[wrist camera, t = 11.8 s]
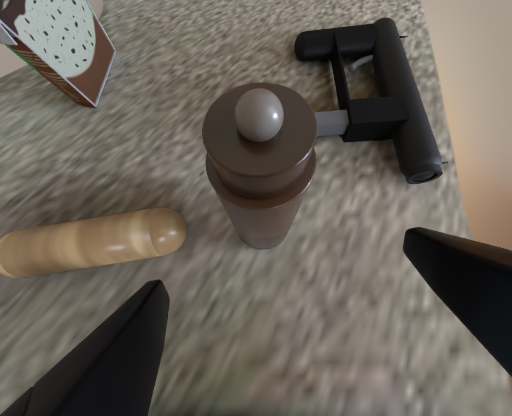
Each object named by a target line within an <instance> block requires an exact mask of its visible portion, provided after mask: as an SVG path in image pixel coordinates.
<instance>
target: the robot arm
mask: <svg viewBox="0 0 512 416" xmlns="http://www.w3.org/2000/svg"><path fill="white" fill-rule="evenodd" d="M403 251H404V253H405V255H406V256H407V257H408V259H409V260H410V261H411V263H412V264H413V265H414V267H415V268H416V269H417V271H418V272H419V273H420V275H421V276H422V277H423V278H424V280H425V281H426V282H427V284H428V285H429V286H430V287H431V289H432V290H433V291H434V292H435V293H436V295H437V296H438V297H439V298H440V299H441V300H442V301H443V302H444V303H445V304H446V306H447V307H448V308H449V309H450V310H451V311H452V312H453V313H454V314H455V315H456V317H457V318H458V319H459V320H460V321H461V322H462V323H463V324H464V325H465V326H466V327H467V329H468V330H469V331H470V332H471V333H472V334H473V335H474V336H475V337H476V338H477V339H478V341H479V342H480V343H481V344H482V345H483V346H484V347H485V348H486V349H487V350H488V352H489V353H490V354H491V355H492V356H493V357H494V358H495V359H496V360H497V361H498V362H499V364H500V365H501V366H502V367H503V368H504V369H505V370H506V371H507V372H508V373H509V374H510V376H511V377H512V250H508V249H504V248H501V247H497V246H492V245H489V244H485V243H481V242H477V241H473V240H469V239H465V238H461V237H457V236H453V235H449V234H445V233H441V232H437V231H433V230H429V229H425V228H421V227H416V228H411V229H408V230H407V231H406V232H405V238H404V244H403ZM169 303H170V299H169V295H168V293H167V291H166V288H165V286H164V284H163V282H162V281H161V280H159V279H158V280H153V281H149V282H147V283H146V284H145V285H144V286H142V287H141V288H140V289H139V290H138V291H137V292H136V293H135V294H134V295H133V296H131V297H130V298H129V299H128V300H127V301H126V302H125V303H124V304H123V305H121V306H120V307H119V308H118V309H117V310H116V311H115V312H114V313H113V314H112V315H110V316H109V317H108V318H107V319H106V320H105V321H104V322H103V323H102V324H100V325H99V326H98V327H97V328H96V329H95V330H94V331H93V332H92V333H91V334H89V335H88V336H87V337H86V338H85V339H84V340H83V341H82V342H81V343H79V344H78V345H77V346H76V347H75V348H74V349H73V350H72V351H71V352H70V353H68V354H67V355H66V356H65V357H64V358H63V359H62V360H61V361H60V362H58V363H57V364H56V365H55V366H54V367H53V368H52V369H51V370H50V371H48V372H47V373H46V374H45V375H44V376H43V377H42V378H41V379H40V380H39V381H37V382H36V383H35V385H34V387H31V388H30V389H28V390H27V391H26V392H25V393H24V394H23V395H22V396H21V397H20V398H19V399H18V400H16V401H15V402H14V403H13V404H12V405H11V406H10V407H9V408H7V409H6V410H5V411H4V412H3V413H2V414H1V415H0V416H148V411H149V407H150V403H151V399H152V394H153V390H154V386H155V382H156V377H157V373H158V369H159V365H160V360H161V356H162V352H163V347H164V341H165V333H166V326H167V318H168V310H169Z"/></svg>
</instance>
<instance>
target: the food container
mask: <svg viewBox="0 0 512 416" xmlns="http://www.w3.org/2000/svg"><path fill="white" fill-rule="evenodd" d="M0 43H1V44H4V45H6V46H7V47H8V48H9V49H11V50H12V51H13V52H14V53H16V54H17V55H18V56H19V57H20V58H22V59H23V60H24V61H25V62H27V63H28V64H29V65H30V66H31V67H33V68H34V69H35V70H36V71H38V72H39V73H40V74H41V75H43V76H44V77H45V78H46V79H47V80H49V81H50V82H51V83H52V84H54V85H55V86H56V87H57V88H59V89H60V90H61V91H62V92H63V93H65V94H66V95H67V96H68V97H70V98H71V99H72V100H73V101H74V102H76V103H78V104H80V105H82V106H86V107H93V108H96V107H97V105H98V102H99V99H100V96H101V94H102V91H103V88H104V85H105V83H106V80H107V77H108V74H109V72H110V69H111V66H112V63H113V61H114V58H115V55H116V52H117V51H116V49H115V48H114V46H113V44H112V42H111V41H110V39H109V37H108V35H107V34H106V32H105V30H104V28H103V27H102V25H101V23H100V21H99V20H98V18H97V16H96V14H95V13H94V11H93V9H92V8H91V6H90V4H89V2H88V1H87V0H0Z"/></svg>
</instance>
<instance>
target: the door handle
mask: <svg viewBox="0 0 512 416" xmlns="http://www.w3.org/2000/svg"><path fill="white" fill-rule="evenodd" d="M404 37H408V36H399V33H398V31H397V28H396V25H395V22H394V21H393V20H392V19H390V18H381V19H379V20H377V21H376V22H375V23H374V24H365V25H357V26H348V27H339V28H331V29H322V30H313V31H305V32H302V33H300V34H299V35H298V36H297V38H296V40H295V45H294V50H295V54H296V56H297V58H298V59H299V60H300V61H302V62H307V61H316V60H326V59H331V64H332V69H333V75H334V81H335V86H336V92H337V97H338V103H339V109H340V110H336V111H324V112H314V114H315V117H316V121H317V128H318V131H317V136H329V135H342V136H343V141H344V142H355V141H370V140H385V139H392V140H393V144H394V148H395V152H396V156H397V159H398V163H399V167H400V170H401V172H402V174H403V175H404V176H405V177H406V181H407V183H409V184H419V183H425V182H428V181H432V180H434V179H436V178H438V177H440V176H441V175H442V174H443V172H442V169H441V163H448V162H442V159H441V156H440V153H439V150H438V147H437V144H436V141H435V138H434V135H433V132H432V129H431V127H430V124H429V121H428V118H427V115H426V112H425V109H424V106H423V103H422V100H421V97H420V95H419V92H418V89H417V86H416V83H415V80H414V77H413V74H412V71H411V68H410V65H409V63H408V60H407V57H406V54H405V51H404V48H403V45H402V42H401V39H400V38H404ZM365 55H369V56H366V57H363V58H361V59H359V60H357V61H355V62H354V63H352V64H351V65H350V66H349V67H348V70H349V71H350V72H352V71H353V70H354V69H356V68H357V67H359V66H361V65H362V64H365V63H367V62H370V61H372V65H373V69H374V72H375V76H376V80H377V84H378V88H379V91H380V95H381V97H376V98H365V99H353V100H350V98H349V93H348V88H347V83H346V78H345V73H344V68H343V63H342V58H346V57H355V56H365Z"/></svg>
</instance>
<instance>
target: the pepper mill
mask: <svg viewBox="0 0 512 416" xmlns="http://www.w3.org/2000/svg"><path fill="white" fill-rule="evenodd" d="M317 131H318V128H317V121H316V117H315V114H314V112H313V110H312V108H311V107H310V105H309V104H308V103H307V101H306V100H305V99H304V98H303V97H302V96H300V95H299V94H298V93H296V92H295V91H293V90H291V89H289V88H287V87H284V86H281V85H278V84H272V83H250V84H245V85H242V86H238V87H236V88H234V89H231V90H229V91H228V92H226V93H224V94H223V95H222V96H220V97H219V98H218V99H217V100H216V101H215V102H214V103H213V104H212V105H211V107H210V108H209V110H208V112H207V114H206V116H205V119H204V122H203V128H202V137H203V142H204V145H205V148H206V151H207V155H206V171H207V175H208V178H209V181H210V182H211V184H212V186H213V188H214V190H215V192H216V194H217V195H218V197H219V199H220V201H221V203H222V205H223V206H224V208H225V210H226V212H227V214H228V216H229V217H230V219H231V221H232V223H233V225H234V227H235V228H236V230H237V232H238V234H239V236H240V237H241V239H242V240H243V241H244V242H245V243H246V244H247V245H249V246H250V247H253V248H256V249H263V250H264V249H270V248H273V247H275V246H277V245H278V244H280V243H281V242H282V241H283V240H284V238H285V237H286V235H287V233H288V231H289V229H290V226H291V224H292V222H293V220H294V218H295V216H296V214H297V211H298V209H299V207H300V205H301V203H302V201H303V198H304V196H305V194H306V192H307V190H308V188H309V185H310V183H311V181H312V179H313V176H314V173H315V169H316V154H315V150H314V145H315V143H316V139H317Z"/></svg>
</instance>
